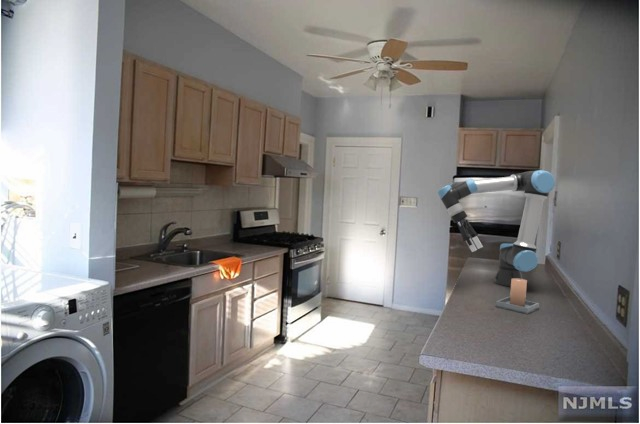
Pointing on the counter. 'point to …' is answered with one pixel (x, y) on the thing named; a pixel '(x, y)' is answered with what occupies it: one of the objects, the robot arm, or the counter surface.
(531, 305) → the grey tray
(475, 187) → the robot arm
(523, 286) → the light orange tall cylinder
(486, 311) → the counter surface
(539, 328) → the counter surface
